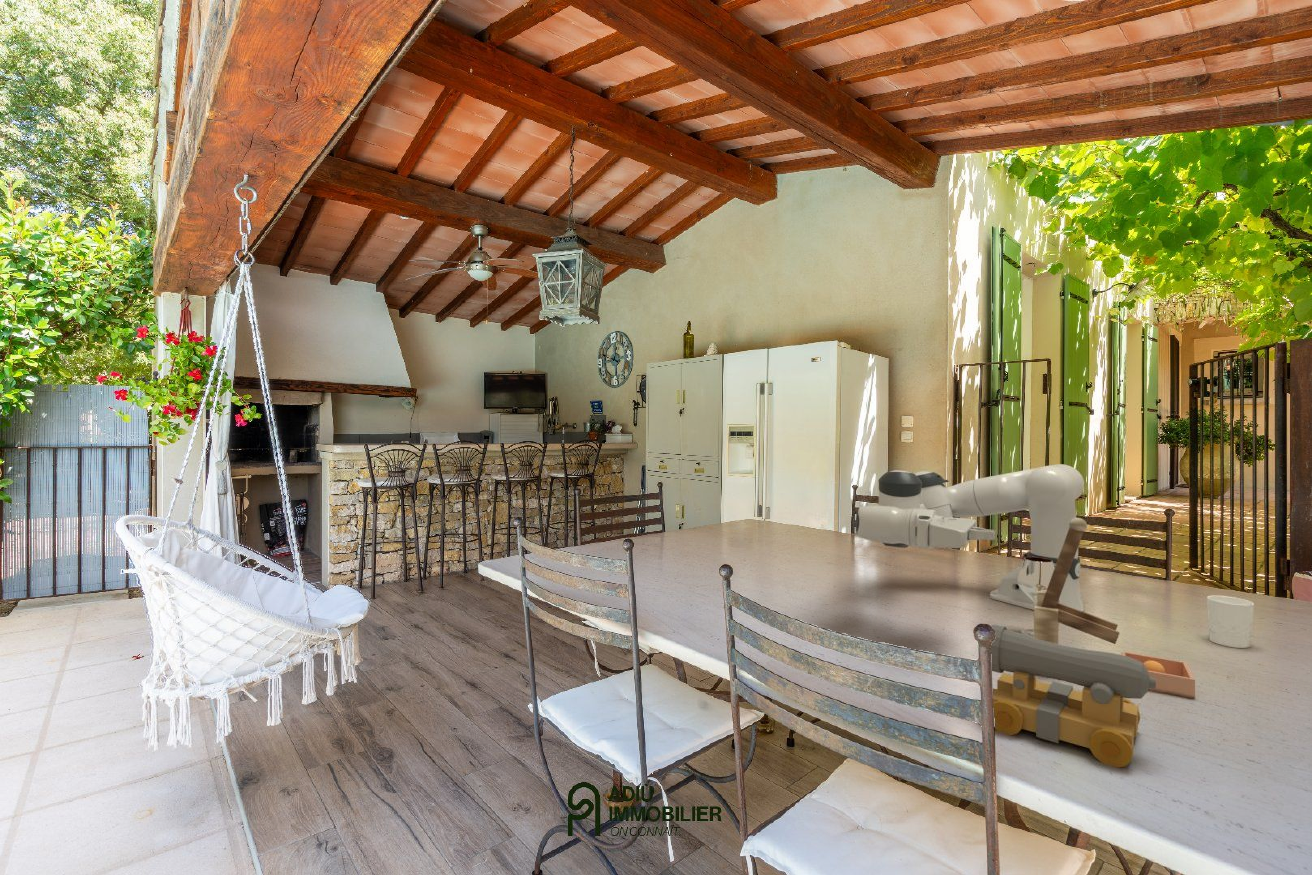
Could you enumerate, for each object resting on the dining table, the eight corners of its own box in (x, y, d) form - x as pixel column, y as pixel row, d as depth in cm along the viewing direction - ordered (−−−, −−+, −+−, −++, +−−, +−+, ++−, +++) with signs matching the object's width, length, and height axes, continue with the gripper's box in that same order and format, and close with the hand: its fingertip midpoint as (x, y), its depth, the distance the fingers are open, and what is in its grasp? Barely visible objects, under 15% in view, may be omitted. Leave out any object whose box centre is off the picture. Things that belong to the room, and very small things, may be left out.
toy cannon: (1150, 779, 86) (1153, 674, 86) (977, 727, 101) (979, 636, 100) (1156, 736, 98) (1159, 643, 98) (1001, 695, 113) (1003, 614, 113)
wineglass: (1054, 632, 147) (1055, 557, 147) (1060, 643, 140) (1061, 564, 140) (1014, 627, 151) (1016, 554, 150) (1018, 637, 143) (1020, 561, 143)
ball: (1139, 660, 119) (1162, 660, 117) (1139, 660, 122) (1161, 660, 120) (1144, 680, 118) (1168, 680, 116) (1144, 680, 120) (1167, 680, 119)
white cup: (1262, 650, 136) (1263, 606, 136) (1221, 647, 138) (1222, 603, 138) (1236, 638, 144) (1237, 596, 144) (1197, 636, 146) (1198, 594, 145)
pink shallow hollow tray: (1124, 685, 117) (1124, 667, 117) (1120, 668, 126) (1121, 651, 126) (1194, 698, 112) (1195, 679, 112) (1185, 679, 120) (1186, 662, 120)
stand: (1018, 670, 124) (1019, 606, 124) (1023, 645, 138) (1024, 588, 138) (1072, 680, 119) (1073, 614, 119) (1071, 654, 133) (1073, 594, 133)
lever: (1036, 618, 125) (1072, 519, 121) (1038, 604, 134) (1071, 512, 131) (1115, 649, 117) (1156, 544, 114) (1112, 632, 127) (1149, 535, 123)
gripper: (934, 535, 149) (999, 542, 142) (917, 549, 132) (989, 558, 125) (935, 509, 149) (1000, 515, 142) (918, 520, 132) (990, 527, 125)
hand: (995, 535), depth 133 cm, fingers closed
